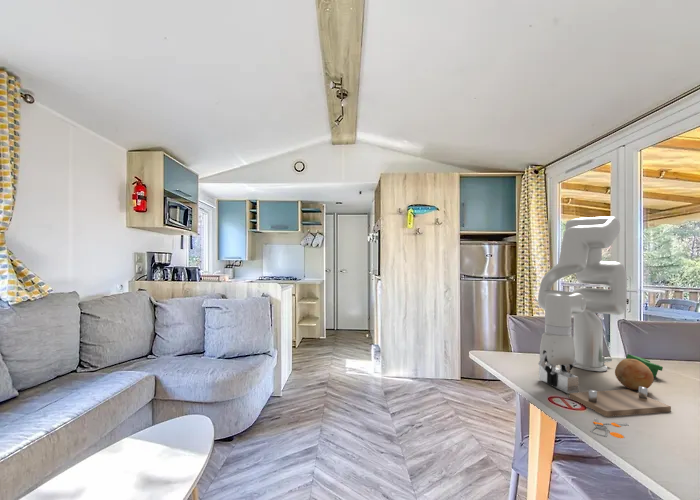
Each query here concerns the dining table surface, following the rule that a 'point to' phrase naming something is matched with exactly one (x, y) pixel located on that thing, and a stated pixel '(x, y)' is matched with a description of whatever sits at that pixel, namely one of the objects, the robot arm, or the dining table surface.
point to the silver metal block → (561, 380)
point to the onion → (633, 374)
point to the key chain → (602, 427)
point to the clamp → (647, 364)
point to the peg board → (620, 402)
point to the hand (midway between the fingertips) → (557, 384)
